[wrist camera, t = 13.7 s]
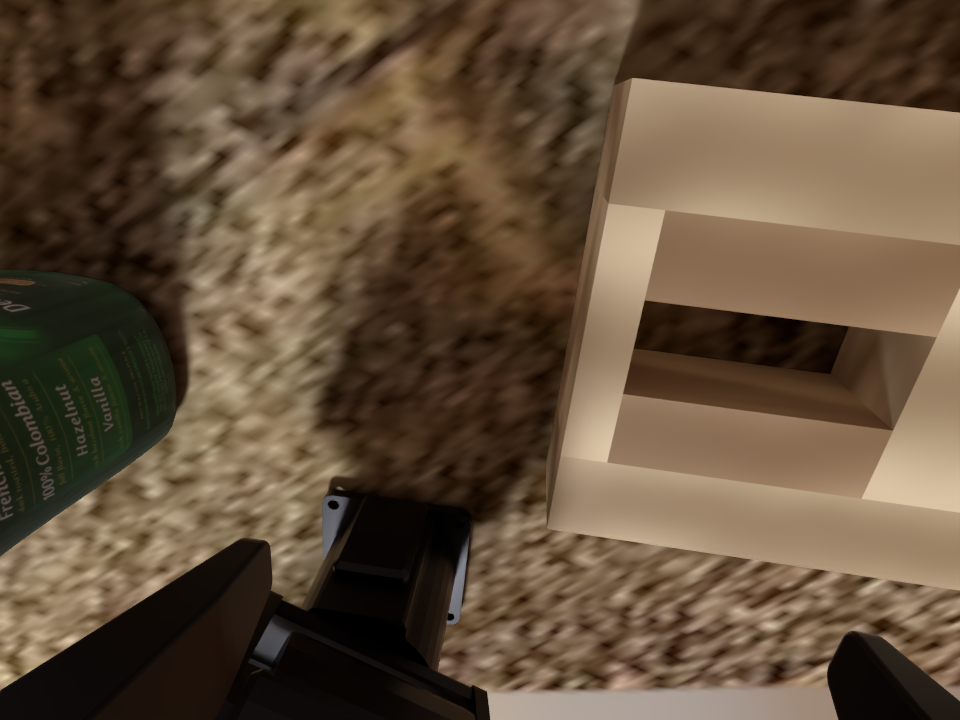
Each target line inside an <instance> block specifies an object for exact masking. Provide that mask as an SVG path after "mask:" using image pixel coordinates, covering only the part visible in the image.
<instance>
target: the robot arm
mask: <svg viewBox="0 0 960 720" xmlns="http://www.w3.org/2000/svg"><path fill="white" fill-rule="evenodd" d="M332 500H334V501H337V502H338V503H339V504H335V503H333V502H332ZM322 518H323V563H322V565H321V567H320V569H319V572H318V574H317V576H316V578H315V580H314V582H313V584H312V586H311V588H310V590H309V592H308V594H307V596H306V598H305V600H304V602H303V604H302V606H301V608H300V607H298V606H296V605H293V604H291V603H289V602H287V601H285V600H283V599H282V598H283V596H281V595H279V594H277V593H275V592H273V591H271V586H272V567H271V552H270V545H269V543H268V542H267V541H265V540H258V539H252V538H242V539H239V540H238V541H236V542H234V543H233V544H231V545H230V546H228V547H226V548H225V549H223V550H222V551H220V552H219V553H217V554H215V555H214V556H212V557H211V558H209V559H207V560H206V561H204V562H203V563H201V564H200V565H198V566H196V567H195V568H193V569H192V570H190V571H189V572H187V573H185V574H184V575H182V576H181V577H179V578H177V579H176V580H174V581H173V582H171V583H170V584H168V585H166V586H165V587H163V588H162V589H160V590H158V591H157V592H155V593H154V594H152V595H151V596H149V597H147V598H146V599H144V600H143V601H141V602H139V603H138V604H136V605H135V606H133V607H132V608H130V609H128V610H127V611H125V612H124V613H122V614H120V615H119V616H117V617H116V618H114V619H113V620H111V621H109V622H108V623H106V624H105V625H103V626H101V627H100V628H98V629H97V630H95V631H94V632H92V633H90V634H89V635H87V636H86V637H84V638H83V639H81V640H79V641H78V642H76V643H75V644H73V645H71V646H70V647H68V648H67V649H65V650H64V651H62V652H60V653H59V654H57V655H56V656H54V657H52V658H51V659H49V660H48V661H46V662H45V663H43V664H41V665H40V666H38V667H37V668H35V669H33V670H32V671H30V672H29V673H27V674H26V675H24V676H22V677H21V678H19V679H18V680H16V681H14V682H13V683H11V684H10V685H8V686H7V687H5V688H3V689H2V690H1V691H0V720H490V714H489V705H488V697H487V691H485V690H482V689H480V688H478V687H476V686H474V685H473V686H472V687H469V686H467V685H465V684H463V683H461V682H458V681H456V680H454V679H452V678H450V677H448V676H446V675H443V674H441V673H439V672H438V666H439V661H440V656H441V650H442V645H443V640H444V634H445V629H446V624H455V623H457V622H458V621H459V619H460V613H461V606H462V597H463V589H464V581H465V572H466V564H467V555H468V547H469V539H470V530H471V522H472V517H471V514H470V513H469V512H468V511H467V510H465V509H462V508H455V507H448V506H441V505H435V504H428V503H421V502H414V501H408V500H401V499H394V498H387V497H381V496H374V495H367V494H360V493H354V492H347V491H340V490H331V491H329V492H328V493H327V494H326V496H325V497H324V499H323V502H322ZM456 519H461V520H463V521H464V522H457V521H456ZM449 613H452V614H449ZM827 679H828V685H829V689H830V692H831V696H832V699H833V703H834V706H835V710H836V713H837V717H838V720H960V701H959V700H958V699H956V698H955V697H954V696H953V695H951V694H950V693H949V692H948V691H947V690H946V689H944V688H943V687H942V686H941V685H939V684H938V683H937V682H936V681H935V680H933V679H932V678H931V677H930V676H928V675H927V674H926V673H925V672H924V671H922V670H921V669H920V668H919V667H918V666H916V665H915V664H914V663H913V662H911V661H910V660H909V659H908V658H907V657H905V656H904V655H903V654H902V653H901V652H899V651H898V650H897V649H896V648H894V647H893V646H892V645H891V644H890V643H888V642H887V641H886V640H885V639H883V638H882V637H880V636H878V635H875V634H869V633H863V632H857V631H850V632H848V633H846V634H845V635H844V637H843V639H842V641H841V643H840V644H839V646H838V648H837V650H836V652H835V654H834V656H833V658H832V660H831V662H830V664H829V666H828V671H827Z"/></svg>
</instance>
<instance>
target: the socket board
mask: <svg viewBox="0 0 960 720" xmlns="http://www.w3.org/2000/svg"><path fill="white" fill-rule="evenodd" d="M645 300H647V301H654V302H662V303H670V304H678V305H686V306H694V307H702V308H710V309H718V310H726V311H733V312H741V313H749V314H757V315H765V316H773V317H781V318H789V319H797V320H804V321H812V322H820V323H828V324H836V325H844V326H849V328H848V330H847V333H846V335H845V338H844V340H843V343H842V345H841V348H840V350H839V353H838V355H837V358H836V360H835V363H834V366H833V368H832V371H831V373H830V374H826V373H818V372H810V371H803V370H795V369H787V368H780V367H772V366H765V365H757V364H749V363H742V362H734V361H726V360H719V359H711V358H704V357H696V356H688V355H681V354H673V353H665V352H658V351H650V350H643V349H635V348H634V344H635V340H636V335H637V331H638V327H639V322H640V318H641V314H642V309H643V305H644V301H645ZM546 498H547V529H551V530H558V531H565V532H572V533H578V534H585V535H592V536H598V537H605V538H612V539H619V540H625V541H632V542H639V543H645V544H652V545H659V546H666V547H672V548H679V549H686V550H692V551H699V552H706V553H713V554H719V555H726V556H733V557H739V558H746V559H753V560H759V561H766V562H773V563H780V564H786V565H793V566H800V567H806V568H813V569H820V570H827V571H833V572H840V573H847V574H853V575H860V576H867V577H874V578H880V579H887V580H894V581H900V582H907V583H914V584H921V585H927V586H934V587H941V588H947V589H954V590H960V113H958V112H948V111H939V110H930V109H920V108H911V107H901V106H892V105H883V104H873V103H864V102H854V101H845V100H836V99H826V98H817V97H807V96H798V95H789V94H779V93H770V92H760V91H751V90H742V89H732V88H723V87H713V86H704V85H695V84H685V83H676V82H666V81H657V80H648V79H638V78H631V79H629V80H626V81H624V82H621V83H619V84H617V85H614V86H613V91H612V97H611V102H610V108H609V113H608V119H607V125H606V130H605V136H604V141H603V147H602V153H601V158H600V164H599V169H598V175H597V181H596V186H595V192H594V197H593V203H592V209H591V214H590V220H589V226H588V231H587V237H586V242H585V248H584V254H583V259H582V265H581V270H580V276H579V282H578V287H577V293H576V298H575V304H574V310H573V315H572V321H571V326H570V332H569V338H568V343H567V349H566V355H565V360H564V366H563V371H562V377H561V383H560V388H559V394H558V399H557V405H556V411H555V416H554V422H553V427H552V433H551V439H550V444H549V450H548V455H547V461H546Z"/></svg>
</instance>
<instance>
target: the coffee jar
mask: <svg viewBox="0 0 960 720" xmlns="http://www.w3.org/2000/svg"><path fill="white" fill-rule="evenodd" d="M176 402H177V399H176V384H175V377H174V369H173V365H172V361H171V358H170V353H169V350H168V347H167V344H166V342H165V340H164V338H163V336H162V334H161V332H160V329H159V327H158V325H157V323H156V322H155V320H154V318H153V317H152V316H151V314H150V313H149V312H148V311H147V310H146V308H145V307H144V306H143V305H142V304H141V303H140V302H139V301H138V300H137V298H136V297H134V296H133V295H132V294H130V293H129V292H128V291H126V290H124V289H122V288H120V287H119V286H117V285H114V284H112V283H109V282H106V281H102V280H98V279H94V278H89V277H84V276H78V275H73V274H65V273H58V272H50V271H36V270H0V556H1V555H3V554H4V553H5V552H7V551H8V550H9V549H11V548H12V547H13V546H15V545H16V544H17V543H19V542H20V541H21V540H23V539H24V538H26V537H27V536H28V535H30V534H31V533H33V532H34V531H35V530H37V529H38V528H39V527H41V526H42V525H44V524H45V523H46V522H48V521H49V520H51V519H52V518H53V517H55V516H56V515H58V514H59V513H61V512H62V511H64V510H65V509H66V508H68V507H69V506H71V505H72V504H74V503H75V502H77V501H78V500H79V499H81V498H82V497H84V496H85V495H87V494H88V493H90V492H91V491H93V490H94V489H96V488H97V487H99V486H100V485H101V484H103V483H104V482H106V481H107V480H108V479H110V478H111V477H113V476H114V475H115V474H117V473H118V472H120V471H121V470H122V469H124V468H125V467H126V466H128V465H129V464H131V463H132V462H133V461H135V460H136V459H137V458H139V457H140V456H141V455H143V454H144V453H145V452H147V451H148V450H149V449H150V448H152V447H153V446H154V445H156V444H157V443H158V442H159V441H161V440H162V439H163V438H164V437H165V436H166V435H167V434H168V432H169V430H170V428H171V427H172V424H173V421H174V418H175V414H176Z"/></svg>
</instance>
